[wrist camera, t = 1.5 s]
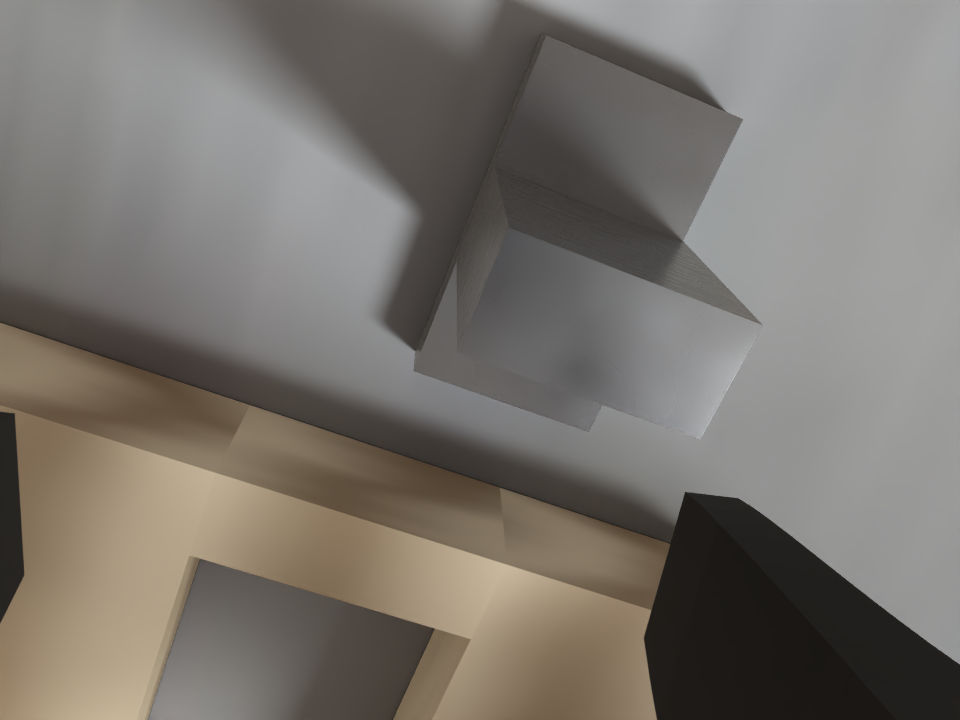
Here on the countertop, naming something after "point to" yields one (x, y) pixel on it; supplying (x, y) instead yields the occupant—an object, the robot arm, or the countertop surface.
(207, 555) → the well block
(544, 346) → the t bracket
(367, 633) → the countertop surface
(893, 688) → the robot arm
